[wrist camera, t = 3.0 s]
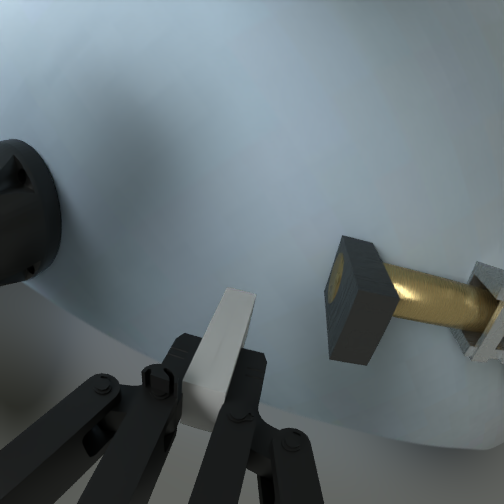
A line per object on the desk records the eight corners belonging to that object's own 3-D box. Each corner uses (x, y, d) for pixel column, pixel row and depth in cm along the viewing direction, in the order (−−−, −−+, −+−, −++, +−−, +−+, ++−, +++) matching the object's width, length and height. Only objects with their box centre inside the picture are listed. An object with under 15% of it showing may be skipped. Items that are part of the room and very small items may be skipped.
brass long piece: (324, 291, 24) (329, 359, 17) (342, 235, 22) (358, 289, 15) (491, 326, 23) (525, 379, 16) (513, 283, 21) (557, 331, 14)
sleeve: (446, 323, 24) (466, 360, 19) (476, 261, 21) (505, 291, 17) (495, 332, 24) (516, 364, 19) (524, 277, 21) (552, 305, 16)
